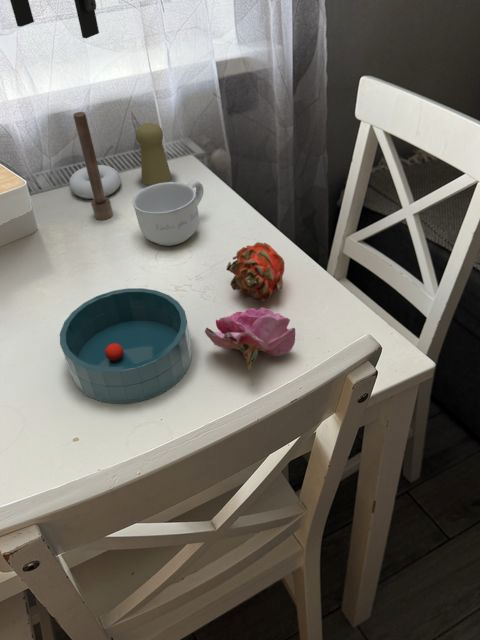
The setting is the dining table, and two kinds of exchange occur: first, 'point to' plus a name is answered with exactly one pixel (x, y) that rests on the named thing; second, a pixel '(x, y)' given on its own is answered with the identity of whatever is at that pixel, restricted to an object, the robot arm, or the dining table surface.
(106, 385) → the bowl
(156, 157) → the olive pawn
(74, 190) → the donut
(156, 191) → the teacup
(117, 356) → the red ball
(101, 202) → the stirring stick
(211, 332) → the flower
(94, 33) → the robot arm
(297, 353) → the dining table surface
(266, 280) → the dragon fruit
